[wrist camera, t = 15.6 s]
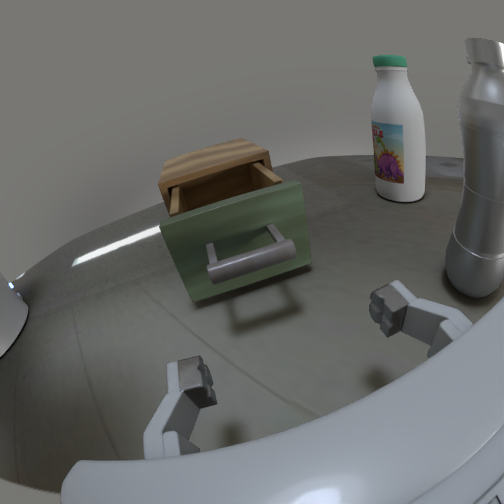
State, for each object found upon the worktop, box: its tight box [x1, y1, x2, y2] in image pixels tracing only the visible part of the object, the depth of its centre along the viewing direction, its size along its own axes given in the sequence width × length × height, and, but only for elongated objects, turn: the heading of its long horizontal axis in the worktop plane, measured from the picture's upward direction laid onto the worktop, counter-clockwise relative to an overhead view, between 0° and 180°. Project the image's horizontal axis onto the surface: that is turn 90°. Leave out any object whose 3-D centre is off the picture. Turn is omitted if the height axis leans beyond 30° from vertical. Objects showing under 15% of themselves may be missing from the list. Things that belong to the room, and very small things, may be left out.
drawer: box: [159, 161, 312, 302], centre depth 26 cm, size 18×11×8 cm, turn 15°
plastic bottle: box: [445, 38, 504, 298], centre depth 13 cm, size 6×7×20 cm
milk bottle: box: [371, 55, 426, 202], centre depth 29 cm, size 8×8×20 cm
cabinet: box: [158, 138, 273, 217], centre depth 37 cm, size 15×13×10 cm
